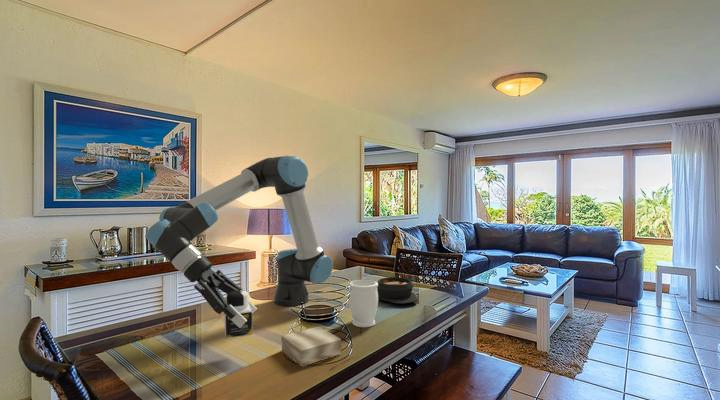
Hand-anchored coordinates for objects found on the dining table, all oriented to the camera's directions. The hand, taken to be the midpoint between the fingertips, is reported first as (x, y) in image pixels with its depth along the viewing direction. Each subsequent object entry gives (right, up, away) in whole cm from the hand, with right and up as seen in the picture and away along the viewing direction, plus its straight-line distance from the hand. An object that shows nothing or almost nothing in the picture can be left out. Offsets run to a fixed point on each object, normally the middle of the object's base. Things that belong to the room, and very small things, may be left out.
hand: (249, 317), depth 104 cm
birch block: (+18, -12, +3) cm, 22 cm away
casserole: (+48, -11, +57) cm, 76 cm away
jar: (+34, -11, +27) cm, 45 cm away
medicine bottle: (-3, -5, 0) cm, 6 cm away
